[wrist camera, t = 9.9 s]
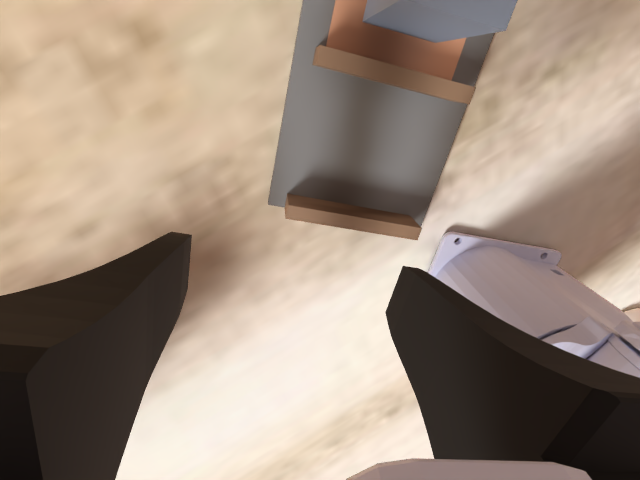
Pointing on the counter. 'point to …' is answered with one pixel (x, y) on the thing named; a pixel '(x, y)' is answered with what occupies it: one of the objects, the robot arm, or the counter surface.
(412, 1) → the plug block
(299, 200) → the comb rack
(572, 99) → the counter surface
